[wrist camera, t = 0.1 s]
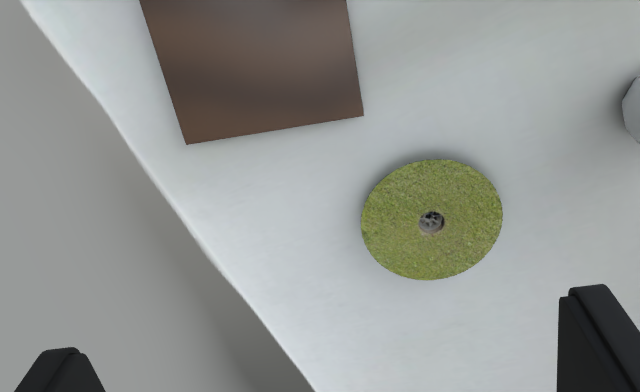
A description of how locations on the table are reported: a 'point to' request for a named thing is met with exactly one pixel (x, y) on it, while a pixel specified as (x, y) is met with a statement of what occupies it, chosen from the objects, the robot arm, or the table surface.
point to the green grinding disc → (431, 219)
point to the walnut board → (254, 64)
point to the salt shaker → (632, 109)
